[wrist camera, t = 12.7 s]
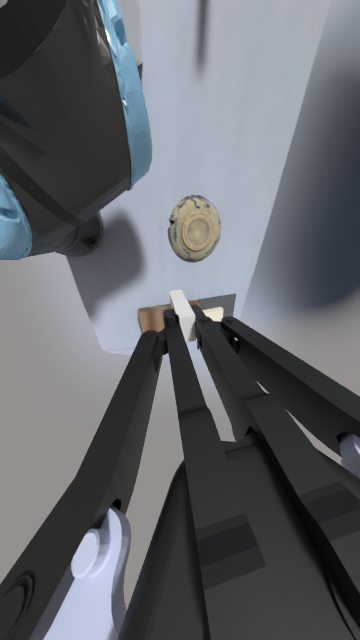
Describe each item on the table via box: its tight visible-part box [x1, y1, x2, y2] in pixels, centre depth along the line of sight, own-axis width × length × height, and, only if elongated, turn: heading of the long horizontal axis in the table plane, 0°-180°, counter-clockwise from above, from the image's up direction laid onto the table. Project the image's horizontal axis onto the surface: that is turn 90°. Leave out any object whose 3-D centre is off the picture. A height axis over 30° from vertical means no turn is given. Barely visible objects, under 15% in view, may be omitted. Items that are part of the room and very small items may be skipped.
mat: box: [198, 294, 236, 317], centre depth 52 cm, size 14×14×1 cm
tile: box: [202, 307, 223, 321], centre depth 51 cm, size 9×6×2 cm, turn 97°
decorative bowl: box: [168, 195, 221, 261], centre depth 36 cm, size 15×4×15 cm
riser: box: [138, 300, 200, 338], centre depth 49 cm, size 20×14×4 cm
